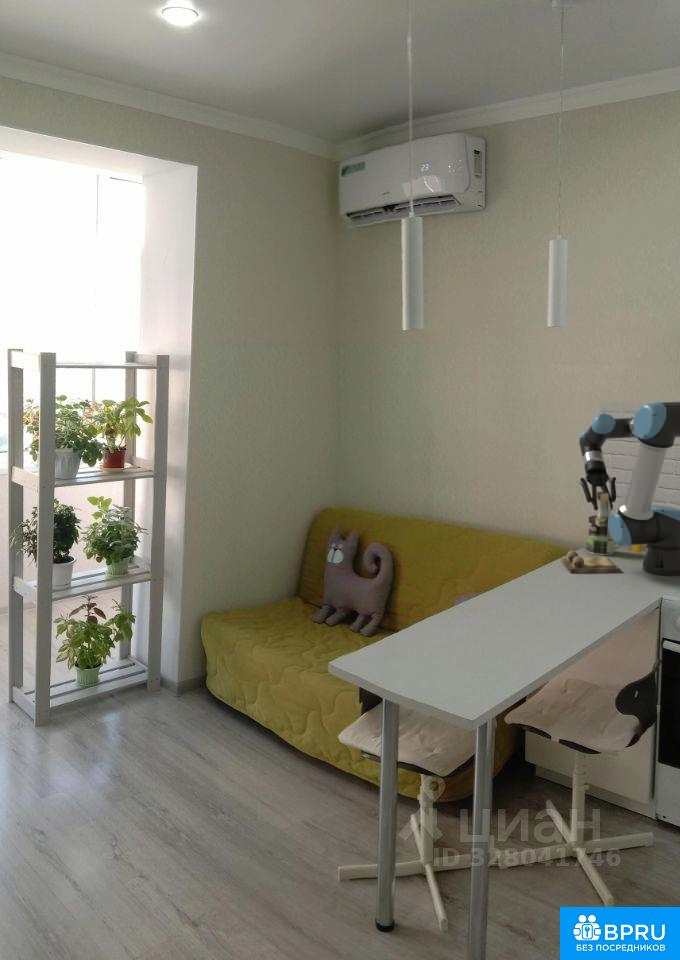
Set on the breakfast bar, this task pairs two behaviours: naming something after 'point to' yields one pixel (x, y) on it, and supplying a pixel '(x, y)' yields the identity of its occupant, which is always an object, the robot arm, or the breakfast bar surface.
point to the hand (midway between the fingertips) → (605, 516)
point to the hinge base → (588, 564)
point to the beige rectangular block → (603, 509)
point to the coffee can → (599, 539)
